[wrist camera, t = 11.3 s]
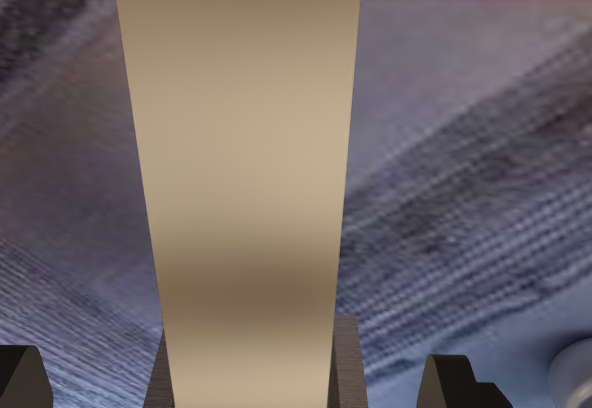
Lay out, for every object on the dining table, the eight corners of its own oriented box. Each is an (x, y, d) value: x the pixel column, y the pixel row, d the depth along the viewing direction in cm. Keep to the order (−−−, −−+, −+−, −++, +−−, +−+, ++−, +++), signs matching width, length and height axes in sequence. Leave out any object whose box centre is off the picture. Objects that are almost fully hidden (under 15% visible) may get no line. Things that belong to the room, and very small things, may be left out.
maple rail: (153, -304, 12) (57, -401, 7) (351, -298, 13) (392, -391, 7) (213, 401, 25) (194, 540, 20) (311, 402, 26) (315, 540, 21)
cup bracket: (202, 180, 33) (88, 611, 15) (338, 183, 33) (395, 613, 15) (213, 327, 40) (144, 754, 21) (327, 329, 40) (357, 754, 21)
